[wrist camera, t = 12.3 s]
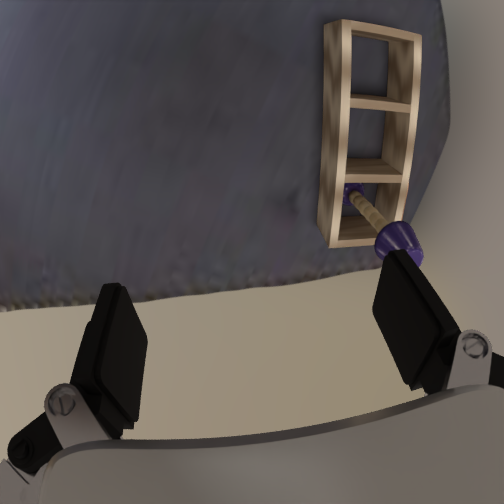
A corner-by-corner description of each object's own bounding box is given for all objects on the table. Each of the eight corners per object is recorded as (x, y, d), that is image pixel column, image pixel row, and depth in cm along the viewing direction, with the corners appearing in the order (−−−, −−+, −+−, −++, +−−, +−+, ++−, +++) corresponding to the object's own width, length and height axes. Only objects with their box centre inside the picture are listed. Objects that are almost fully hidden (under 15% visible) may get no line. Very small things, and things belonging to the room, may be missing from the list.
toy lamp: (363, 169, 39) (431, 234, 25) (369, 199, 42) (430, 272, 28) (330, 180, 40) (386, 252, 26) (338, 210, 42) (389, 289, 29)
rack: (323, 24, 29) (341, 19, 24) (398, 36, 29) (425, 36, 24) (316, 224, 43) (329, 248, 38) (381, 221, 44) (399, 242, 39)
